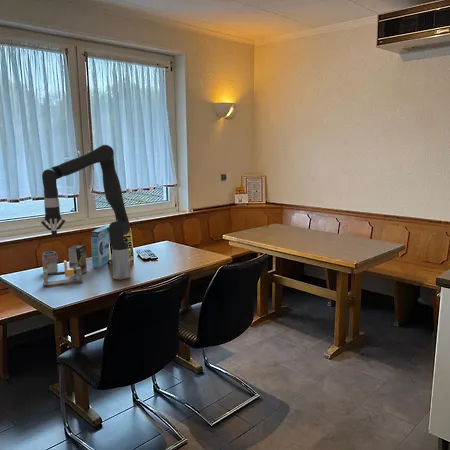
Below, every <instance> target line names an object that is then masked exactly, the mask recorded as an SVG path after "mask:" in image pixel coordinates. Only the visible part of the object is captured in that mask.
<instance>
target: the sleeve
mask: <svg viewBox="0 0 450 450" xmlns="http://www.w3.org/2000/svg"><path fill="white" fill-rule="evenodd" d="M63 266H64V271H65V274H64V278H70V277H71V278H72V277H75V275H74V269H73V268H69V267H68V264H67V260H63Z"/></svg>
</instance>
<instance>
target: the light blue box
mask: <svg viewBox="0 0 450 450" xmlns="http://www.w3.org/2000/svg"><path fill="white" fill-rule="evenodd" d="M109 226H110V225H102V226H101V227H98V228H96V229H94V230H92V231H90V245H91V262H92V263H91V264H92V265H91V266H92V268H93V269H95V268H96V269H97V268H98V269H101V267H103V266H105V265H106V264H107V263H109V262H110V261H109V253H108V251H109V239H110V238H109ZM108 261H109V262H108Z"/></svg>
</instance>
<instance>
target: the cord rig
mask: <svg viewBox="0 0 450 450" xmlns="http://www.w3.org/2000/svg"><path fill="white" fill-rule="evenodd" d="M42 272H43V273H42V274H43V282H42V286H43V288H52V287H59V286H68V285H75V284H83V278H82V274H81V268H80V267H76V270H75V269H74V274H75V273H76V275H75V278H68V279H67V278H66V279H61V280H60V279H59V280H51V281H49V277H52V276H53V277H54V276H62V275H63V276H64V275H65V270H63V271H57V272H55V273H47V269H46V270H43V269H42Z"/></svg>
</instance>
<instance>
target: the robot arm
mask: <svg viewBox="0 0 450 450" xmlns="http://www.w3.org/2000/svg"><path fill="white" fill-rule="evenodd" d="M98 163H99V166H100V168H101V174H102V185H103V186H102V187H103V192H104V197H105V199H106V202H107V203H108V205H109V206H110V207H111V209H112V210H113V213H114V216H115V220H114V221H111V223H110V224H109V225H108V226H109V238H110V244H111V246H112V260H111V261H112V262H111V263H112V277H113V278H112V279H114V280H126V279H129V278H131V262H130V253H129V243H128V242H127V241H125V238H124V236H127V235H128V234H129V233H130V231H131V224H130V220H129V218H128V214H127V211H126V207H125V202H124V197H123V192H122V186H121V183H120V180H119V177H118V174H117V170H116V165H115V164H116V163H115V152H114V148H113V147H112V146H110V145H109V144H101V145H99V146H98V147H97V148H95V149H93V150H91V151H90V152H88V153H86V154H84V155H81V156H78V157H75V158H73V159H70V160H67V161H64V162H62V163H60V164H57V165H55V166H53V167H49V168H47V169H45V170H44V171H42V173H41V175H42V176H41V177H42V185H43V196H44V201H43V205H44V206H43V207H44V219H43V220H41V221H40V223H41V224H42V225H43V227H45V228H46V229H47V230H48V231H51V232H50V233H51V237H53V238H56V237H57V236H58V230H60V229H61V228H62V227H63V225H64V224H65V222H66V219H64V218H62V216H61V210H60V209H61V208H60V205H61V204H60V200H59V191H58V187H57V186H58V185H57V184H58V183H57V180H58V179H61V178H63V177H68V176H70V175H73V174H75V173H77V172H79V171H81V170H84V169H85V168H88V167H90V166H92V165H94V164H98ZM59 222H60V223H59ZM47 223H48V224H49V225H48V224H47Z"/></svg>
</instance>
